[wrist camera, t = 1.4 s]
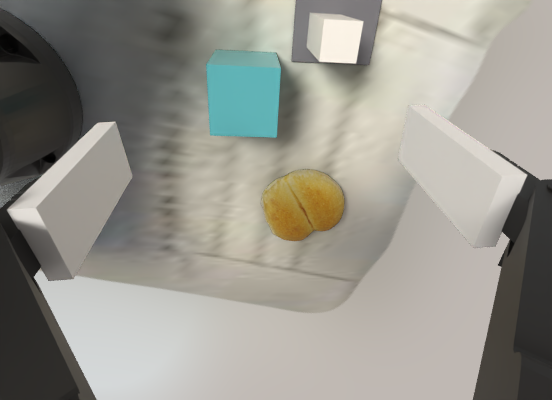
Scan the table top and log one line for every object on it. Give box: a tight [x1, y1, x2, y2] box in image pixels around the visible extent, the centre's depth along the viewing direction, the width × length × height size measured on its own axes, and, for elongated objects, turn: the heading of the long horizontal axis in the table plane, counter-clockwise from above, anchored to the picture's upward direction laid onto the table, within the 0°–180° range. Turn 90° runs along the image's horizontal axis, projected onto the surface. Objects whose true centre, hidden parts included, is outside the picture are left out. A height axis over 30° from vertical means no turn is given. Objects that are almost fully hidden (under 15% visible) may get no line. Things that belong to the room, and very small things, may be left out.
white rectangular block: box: [307, 13, 363, 64], centre depth 25 cm, size 3×3×7 cm
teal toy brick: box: [206, 50, 281, 138], centre depth 27 cm, size 5×5×7 cm
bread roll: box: [261, 169, 344, 241], centre depth 36 cm, size 8×9×4 cm
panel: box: [291, 0, 382, 65], centre depth 28 cm, size 7×6×1 cm
